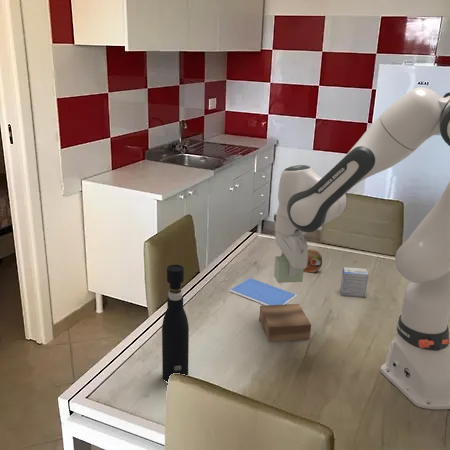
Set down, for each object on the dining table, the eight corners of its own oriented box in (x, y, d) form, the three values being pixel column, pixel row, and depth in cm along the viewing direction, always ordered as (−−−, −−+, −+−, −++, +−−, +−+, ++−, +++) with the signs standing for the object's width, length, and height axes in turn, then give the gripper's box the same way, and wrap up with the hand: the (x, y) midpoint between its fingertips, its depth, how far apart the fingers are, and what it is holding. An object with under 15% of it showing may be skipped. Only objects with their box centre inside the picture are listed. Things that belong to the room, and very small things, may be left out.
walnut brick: (309, 340, 147) (311, 324, 145) (268, 342, 145) (269, 327, 144) (297, 318, 158) (298, 303, 156) (259, 320, 156) (260, 305, 155)
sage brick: (302, 281, 144) (304, 262, 142) (278, 282, 143) (279, 263, 141) (297, 274, 148) (299, 255, 146) (274, 275, 147) (275, 256, 145)
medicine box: (363, 291, 176) (366, 268, 172) (365, 297, 171) (368, 274, 168) (339, 289, 176) (342, 266, 173) (341, 296, 172) (344, 272, 169)
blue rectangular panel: (297, 297, 171) (298, 294, 171) (277, 312, 162) (277, 308, 161) (249, 280, 182) (249, 276, 181) (228, 293, 172) (228, 289, 172)
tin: (279, 268, 191) (281, 247, 188) (281, 264, 194) (283, 244, 191) (320, 274, 187) (323, 253, 184) (321, 271, 190) (324, 249, 187)
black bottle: (175, 366, 133) (175, 259, 123) (193, 376, 129) (195, 267, 119) (157, 377, 128) (155, 268, 118) (175, 388, 125) (175, 276, 114)
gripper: (315, 237, 131) (311, 286, 136) (293, 211, 150) (289, 255, 155) (291, 238, 130) (287, 287, 135) (272, 212, 149) (269, 256, 154)
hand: (288, 270), depth 145 cm, fingers closed on sage brick, 4 cm apart
